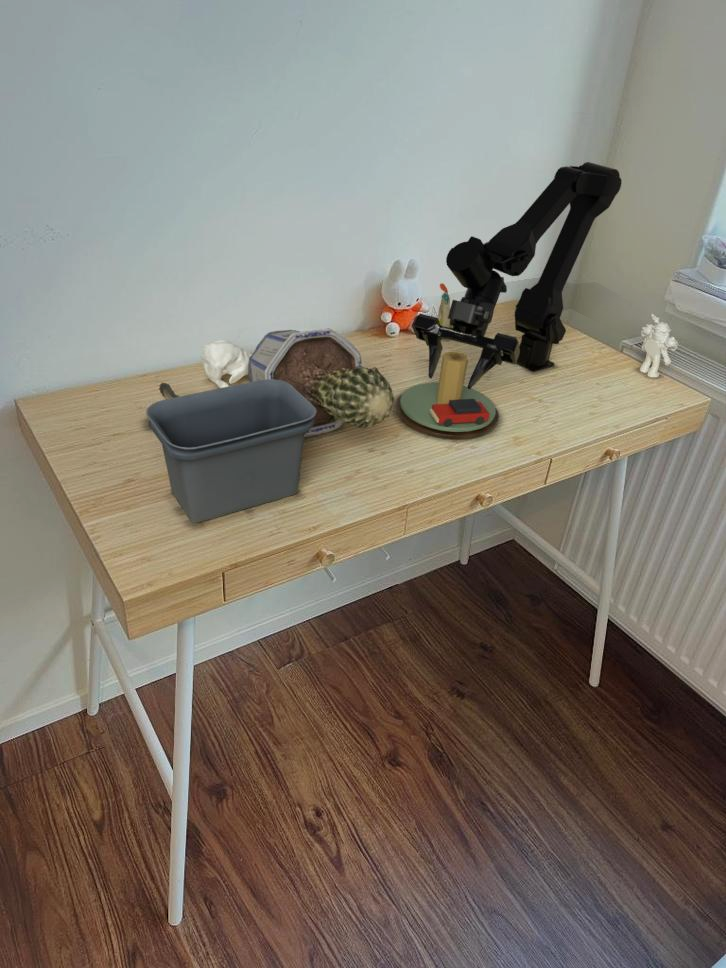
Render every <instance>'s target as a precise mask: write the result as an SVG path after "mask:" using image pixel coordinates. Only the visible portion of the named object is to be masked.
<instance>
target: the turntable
mask: <svg viewBox="0 0 726 968" xmlns="http://www.w3.org/2000/svg"><path fill="white" fill-rule="evenodd" d="M468 361H469V357H468V355H467V354H465V353H463V352H459V351H447V352H444V353H443V354H442V359H441V366H440V372H439V379H438V381H436V382H435V381H433V382H431V381H430V382H425V383H418V384H416V385H412V386H411V387H409V388H407V389H406V390H405V391H404V392H403V393H401V394H402V396H401V399H400V406H401V409H402V411H403V412H404V413H405V414H406V415H407V416H408V417H409V418H410V419H412V420H413V421H415V422H417V423H419V424H421V425H424V426H426V427H429V428H433V429H437V430H442V431H450V432H467V431H473V430H478V429H481V428H483V427H485V426H487V425H489V424H490V423H491V422H492V421H493V420H494V417H495V413H496V409H497V408H496V406H495V404H494V403H493V401H492V400H491V399H490V398H489V397H488V396H486V395H485V394H484V393H482V392H481V391H478V390H476V389H474V388H473V387H472V388H471V389H468V386H464V385H465V380H466V373H467V367H468V363H469V362H468ZM495 408H496V409H495Z"/></svg>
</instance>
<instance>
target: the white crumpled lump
mask: <svg viewBox="0 0 726 968" xmlns="http://www.w3.org/2000/svg"><path fill="white" fill-rule="evenodd" d="M252 354H253V353H250V352H249V351H246V349H244V348H242V347H241V346H240V345H238V344H236V343H233V342H232V341H230V340H227V339H215V340H214V341H211V342H208V343H206V344H205V345H204V346H203V349H202V352H201V355H200V358H201V361H202V366H203V370H204V372H205V374H206V377H207V378H208V379H209V380H210V381H211V382H213V383H214V384H215V385H217V387H218V389H219V388H223V387H228V386H230V385H229V384H228V383H227V382H226V381H225V380H222V377H223V376H224V375H226V374H227V375H231V376H230V378H229V379H228V382H229V383H230V384H232V385H233V384H234V383H236V382H238V381H239V380H241V379H242V378H244V377H245V376H249V375H248V362H249V358H250V357H251V355H252Z"/></svg>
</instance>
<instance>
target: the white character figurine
mask: <svg viewBox="0 0 726 968" xmlns="http://www.w3.org/2000/svg"><path fill="white" fill-rule="evenodd" d="M650 315H651V316H650V317H651V320H653V321H654V323H655V324H652V323H651V324H648V323H647V324H645V326H643V327H641V332H640V334H641V337H645V338H644V339H643V343H642V346H641V351H644V352H646V353H645V354H646V355H645V359H644V361H643V362H642V364H641V366H640V367H639V371H640V372H641V373H644V374H647V376H648V377H649V378H659V377H660V372H659V368H660V364H661V359H662V357H663V359H662V360H663V362H664V365H665V366H669V365H671V364H672V360H671V359H672V358H670V356H669V352H668V348H670V349H671V351H672V352H675V351H676V350H677V348H678V347H679V342H678V340H676V337H674V336H671V337H670V333H671V332H672V329H671V328H670V326H669V324H668V323H667V322H663V321H660V319H661V317H658V316H656V315H654V313H651V314H650ZM651 365H652V366H651Z"/></svg>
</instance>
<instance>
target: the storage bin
mask: <svg viewBox="0 0 726 968" xmlns="http://www.w3.org/2000/svg"><path fill="white" fill-rule="evenodd" d="M179 396H180V397H175V398H170V399H162V400H159V401H156V402H153V403H152V404H150V405H149V406H148V407H147V408H146V410H145V415H146V417H147V419H148V421H149V420H150V427H149V428H150V429H151V430H152V432H153V433H154V435H155V436H156V438H157V440H159V442H160V444H161V447H162V451H163V457H164V460H165V461H164V462H165V465H166V466H165V467H166V470H167V474H168V481H169V485H170V489H171V493H172V496H173V498H175V500H176V502H177V503H178V504H179V506H180V507H181V509H182V510H183V511H184V514H185V515H186V516H187V518H188V520H189V521H190V522H193V523H202V522H206V521H209V520H212V519H216V518H218V517H222V516H225V515H226V516H227V515H229V514H233V513H236V512H239V511H243V510H246V509H250V508H253V507H257V506H260V505H264V504H267V503H271V502H274V501H277V500H280V499H284V498H288V497H291V496H293V495H296V494H297V493H298V491H299V484H300V475H301V467H302V458H303V450H304V441H305V437H304V435H305V432H306V431H308V430H310V429H311V428H312V427H313V425H314V421H313V417H314V416H315V415H316V412H317V411H316V408H315V407H314V406H313V405H312V404H311V403H310V402H309V401H308V400H307V399H306V398H305V397H304V396H303V395H302V394H300V393H299V392H298V391H297V390H296V389H295V388H294V387H293V386H292V385H290V384H289V383H287V382H285V381H281V380H274V379H266V380H259V381H253V382H249V381H248V382H244V383H238V384H234V385H233V384H232V385H229V386H228V387H223V388H219V387H218V388H214V389H209V390H205V391H199V392H195V393H191V394H186V395H185V394H184V395H179Z"/></svg>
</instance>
